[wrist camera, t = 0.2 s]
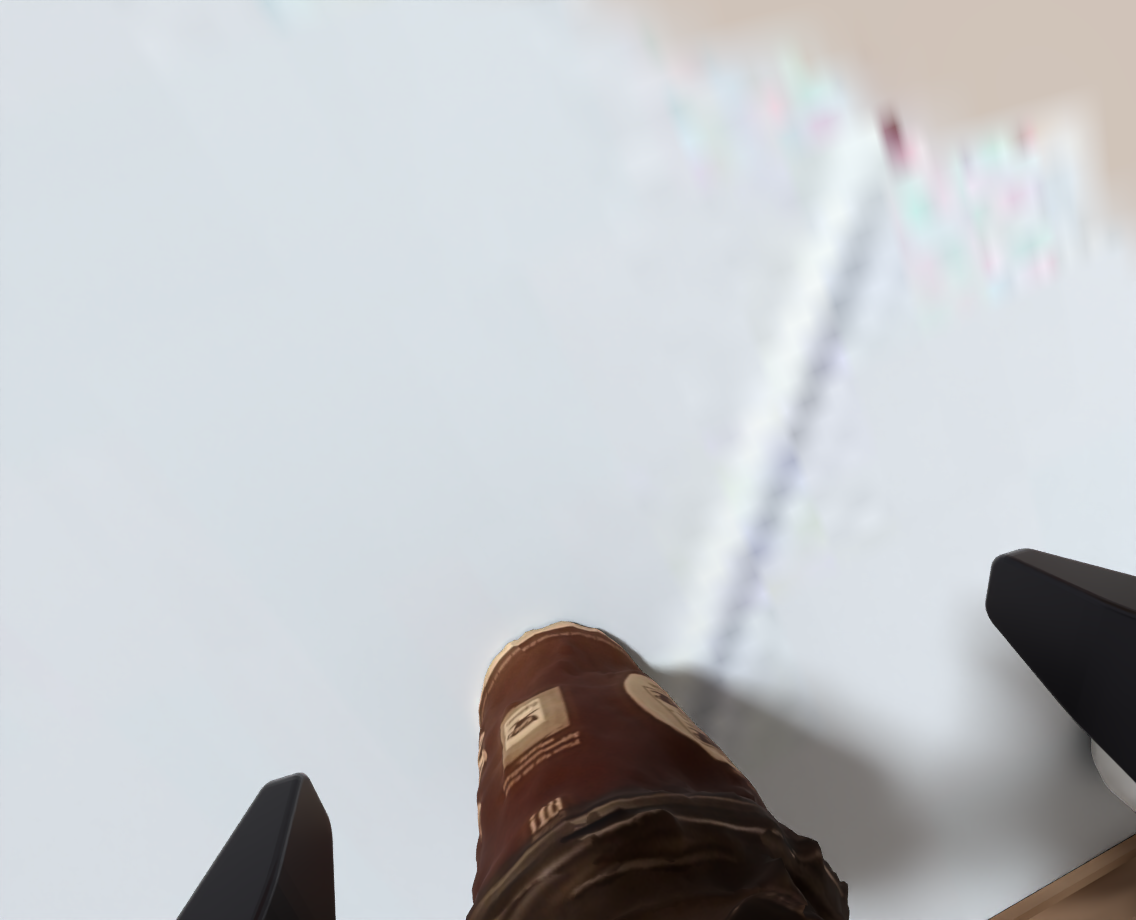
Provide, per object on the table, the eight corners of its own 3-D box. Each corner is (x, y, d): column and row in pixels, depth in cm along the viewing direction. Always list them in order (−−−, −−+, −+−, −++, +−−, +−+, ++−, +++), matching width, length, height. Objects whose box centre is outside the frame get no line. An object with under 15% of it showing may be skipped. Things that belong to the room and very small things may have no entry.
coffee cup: (643, 559, 25) (863, 786, 12) (696, 745, 27) (934, 1106, 14) (415, 643, 24) (402, 990, 11) (488, 832, 25) (547, 1310, 13)
